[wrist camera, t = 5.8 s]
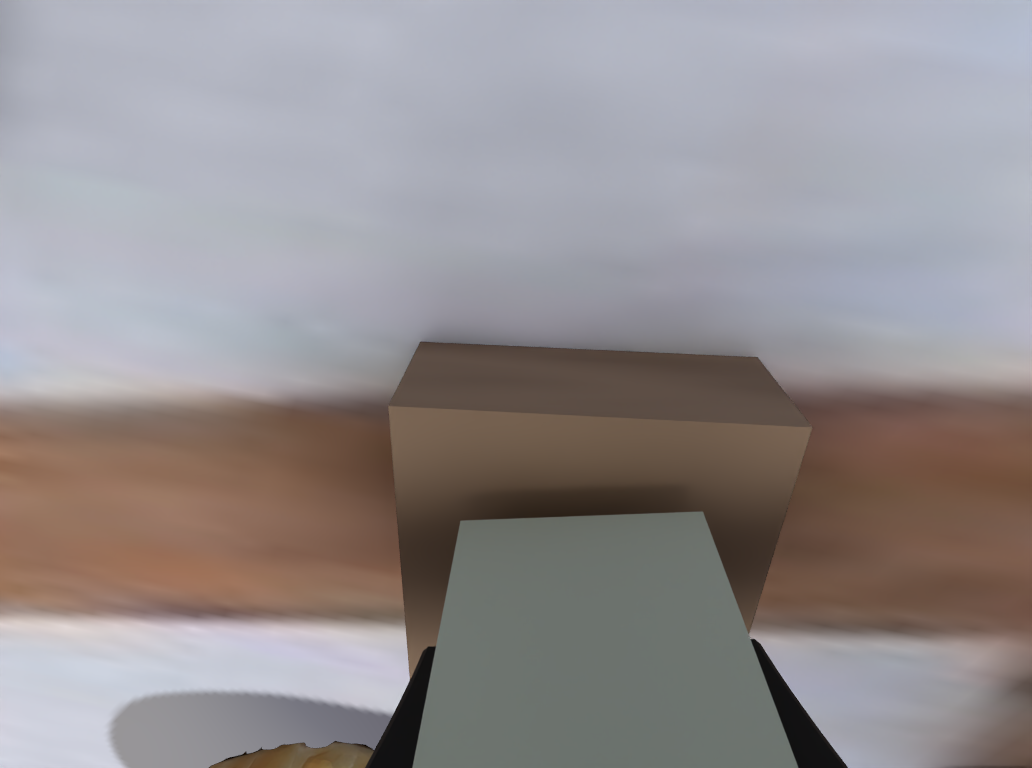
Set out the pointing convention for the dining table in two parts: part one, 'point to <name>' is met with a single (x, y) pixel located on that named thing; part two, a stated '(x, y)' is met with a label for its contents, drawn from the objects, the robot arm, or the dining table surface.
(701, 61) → the dining table surface
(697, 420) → the base block
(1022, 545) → the dining table surface
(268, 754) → the pastry
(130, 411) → the dining table surface
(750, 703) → the green block
